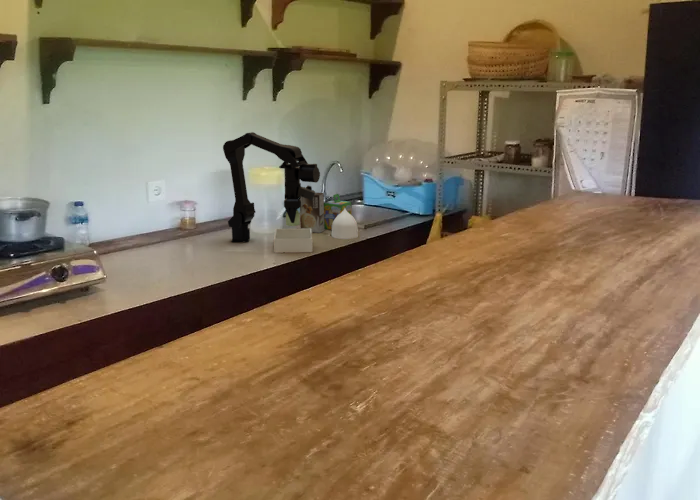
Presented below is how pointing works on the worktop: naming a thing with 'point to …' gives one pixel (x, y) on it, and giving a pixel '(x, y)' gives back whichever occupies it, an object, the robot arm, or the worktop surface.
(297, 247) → the serving bin
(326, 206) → the chalk box
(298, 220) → the salad portion
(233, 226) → the robot arm
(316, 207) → the coffee box
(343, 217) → the teardrop
